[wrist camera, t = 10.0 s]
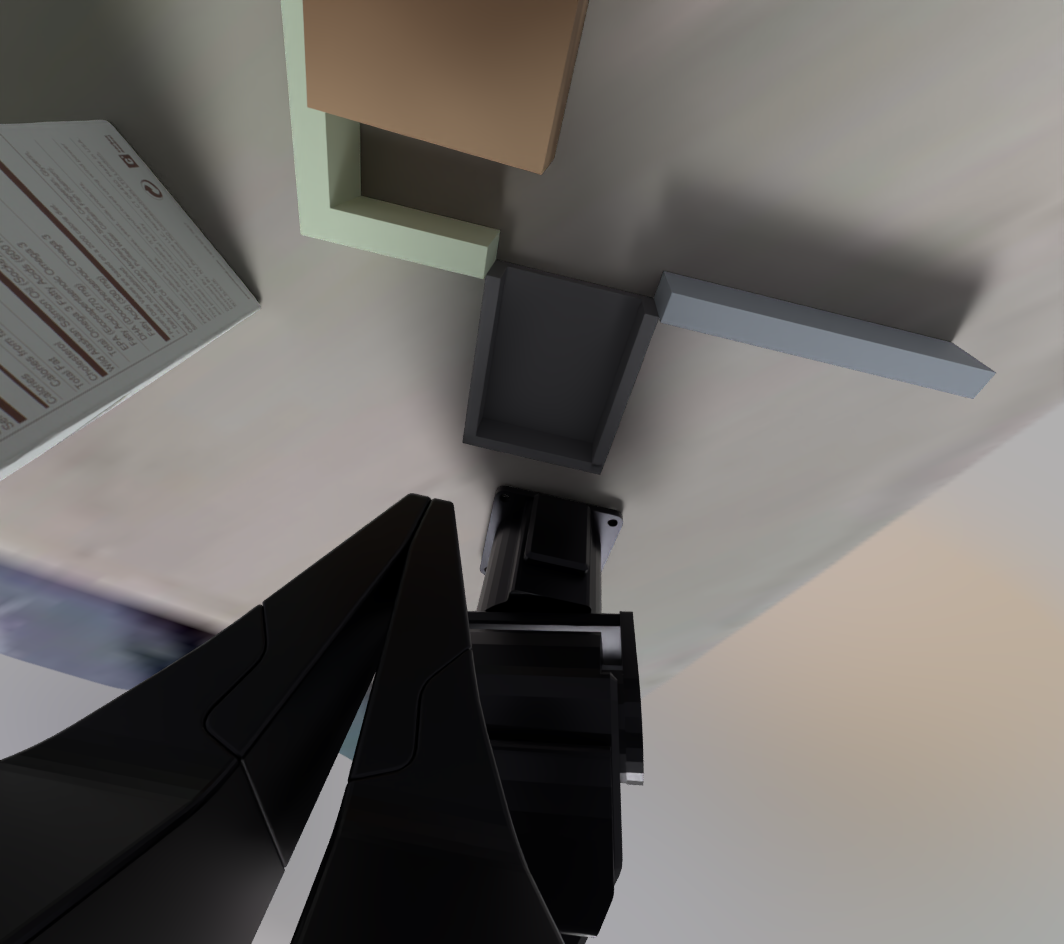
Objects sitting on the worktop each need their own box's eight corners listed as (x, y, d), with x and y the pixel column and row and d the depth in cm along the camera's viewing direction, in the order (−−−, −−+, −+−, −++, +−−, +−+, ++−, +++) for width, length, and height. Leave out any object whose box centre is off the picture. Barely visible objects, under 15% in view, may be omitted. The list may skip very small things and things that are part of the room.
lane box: (828, 501, 23) (849, 539, 21) (341, 388, 22) (316, 416, 20) (2020, -1022, 6) (2672, -1537, 4) (245, -1727, 5) (45, -2771, 3)
